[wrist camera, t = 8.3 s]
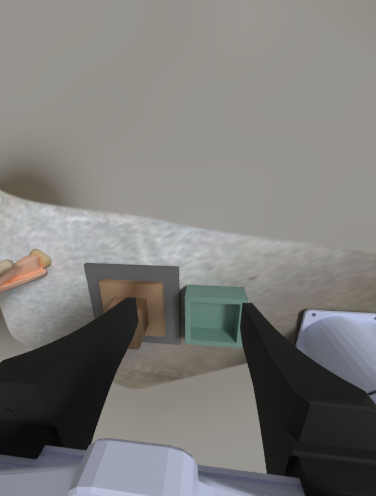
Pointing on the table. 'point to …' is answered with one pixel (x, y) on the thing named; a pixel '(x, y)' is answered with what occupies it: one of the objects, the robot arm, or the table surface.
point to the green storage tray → (213, 315)
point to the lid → (138, 305)
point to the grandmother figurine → (23, 270)
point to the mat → (141, 273)
